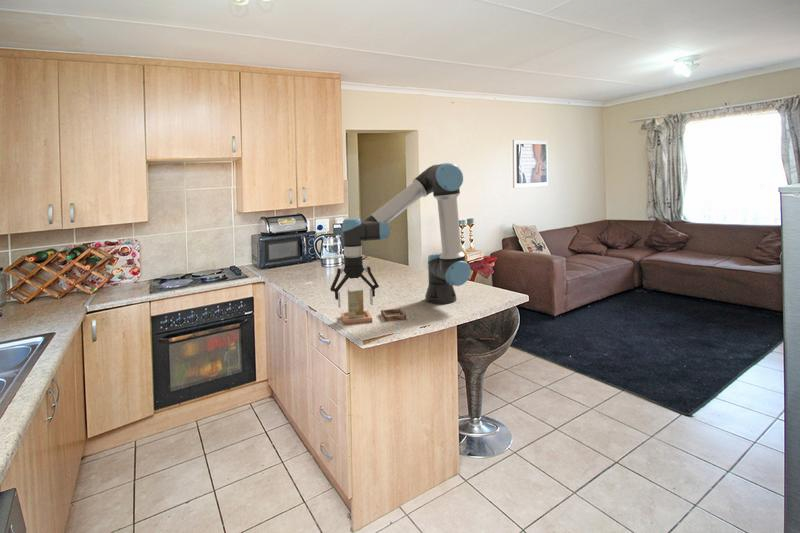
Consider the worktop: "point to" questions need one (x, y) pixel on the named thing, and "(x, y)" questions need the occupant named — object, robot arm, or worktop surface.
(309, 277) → the worktop surface
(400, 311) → the pocket frame
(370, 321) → the tray
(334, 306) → the worktop surface
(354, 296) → the skincare box
